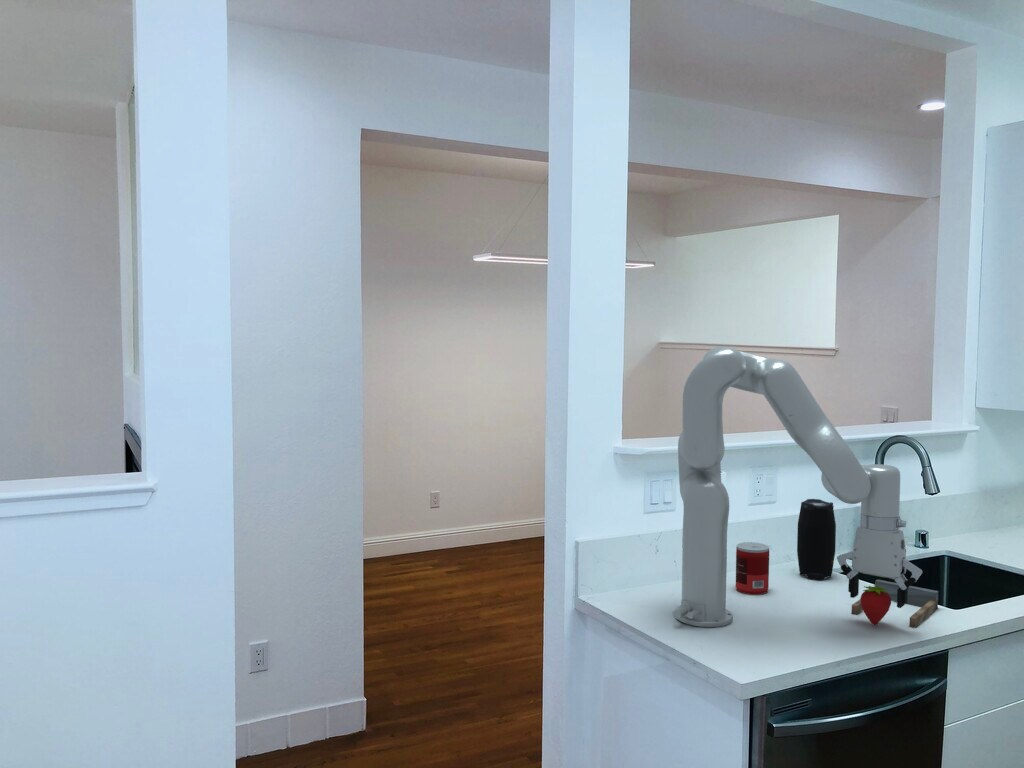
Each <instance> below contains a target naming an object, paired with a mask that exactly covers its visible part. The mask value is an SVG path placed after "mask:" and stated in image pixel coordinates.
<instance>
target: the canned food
mask: <svg viewBox="0 0 1024 768" xmlns="http://www.w3.org/2000/svg"><path fill="white" fill-rule="evenodd" d="M735 549H736V550H735V551H736V552H735V588H736V590H737V592H740V593H741V594H746V595H751V596H754V595H756V596H757V595H758V596H759V595H765V594H767V592H768V590H769V584H770V583H769V581H770V579H769V578H770V577H769V575H770V546H769V545H767V544H764V543H761V542H753V541H751V542H750V541H747V542H746V541H745V542H740V543H737V544H736V548H735Z"/></svg>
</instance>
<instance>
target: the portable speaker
mask: <svg viewBox="0 0 1024 768" xmlns="http://www.w3.org/2000/svg"><path fill="white" fill-rule="evenodd" d="M834 506H835V505H834V502H829V501H825V500H823V499H820V498H807V499H806V500H803V501H801V503H800V509H799V514H798V520H797V540H796V553H797V562H798V563H797V564H798V572H799V575H805V576H806V578H808V579H809V580H812V581H825V579H826V578H832V574H833V569H834V563H835V562H834V561H835V557H836V556H835V555H836V540H837V539H836V538H837V537H836V533H837V530H836V529H837V524H836V517H835V510H834V508H835V507H834Z"/></svg>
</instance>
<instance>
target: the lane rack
mask: <svg viewBox="0 0 1024 768" xmlns="http://www.w3.org/2000/svg"><path fill="white" fill-rule="evenodd" d="M879 580H880V581H879ZM878 581H879V582H878ZM874 584H875V585H874V586H875V587H876V586H879V587H880V588H886V589H884V590H885V591H886V592H888V594H889V595H890V597H891V602H894V603H897V590H898V589H899V585H898V584H897V583H896V582H894V581H893V582H891V581H886V580H882V579H876V580H875V581H874ZM938 604H939V590H934V589H931V588H930V589H929V588H923V587H918V586H913V585H911V586H909V587H908V598H907V603H906V604H905V605H911V606H915V607H919V609H918V610H917V611H916V612H914V613H913V614H912V615H911V616H909V624H908V625H909V627H910V628H914V629H915V628H918V626H919V625H920V624H922V623H923V622H924V621H925V620H926V619H927V618H929V617H930V616H931V615H933V613H934V612H935V611H936V610H938V609H939V608H938V606H939V605H938ZM862 612H864V611H863V609H862V606H861V602H860V599H858V600H857V601H855V602H854V603H853V604H851V614H852V615H855V616H857V615H859V614H860V613H862Z"/></svg>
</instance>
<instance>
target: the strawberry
mask: <svg viewBox="0 0 1024 768" xmlns="http://www.w3.org/2000/svg"><path fill="white" fill-rule="evenodd" d="M878 580H879V581H880V580H881V579H878ZM879 581H878V582H879ZM863 588H866V589H864V590H862V591H863V592H862V593H861V595H860V598H859V600H860V602H861V606H862V609H863V611H862V612H863V613H864V614H865V616H866V618H867V619H868V620H869V621H868V622H870V624H871V625H872V626H877V625H878V624H879V623H880V622H881V621H882V619H884V617H885V616H886V615H887V614H888V612H889V610H890V608H891V604H892V601H891V597H890V595H889V594H888V592H886V591H885V590H884V589H886V588H880V587H879V586H876V587H875V583H874V584H873V586H872V585H871V586H870V585H869V586H865V585H863Z"/></svg>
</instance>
